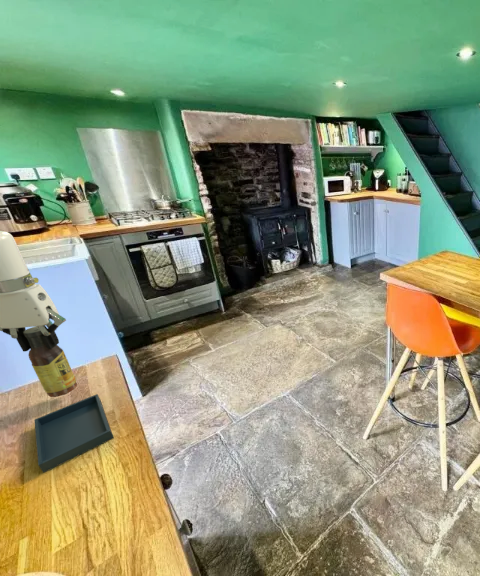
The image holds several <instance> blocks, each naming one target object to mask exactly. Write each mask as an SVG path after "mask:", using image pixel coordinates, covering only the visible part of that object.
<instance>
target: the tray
mask: <svg viewBox="0 0 480 576" xmlns="http://www.w3.org/2000/svg"><path fill="white" fill-rule="evenodd" d="M34 431H35V443H36V454H37V465H38V467H39V469H40V470H41V472H42V473H46V472H47V471H50V470H52V469H54V468H57V467H58V466H60V465H63V464H64V463H66V462H68V461H70V460H72V459H74V458H76V457H78V456H81V455H82V454H84V453H87V452H88V451H90V450H92V449H95V448H96V447H98V446H101V445H102V444H104V443H107V442H108V441H110V440H112V439H114V438H115V437H114V434H113V431H112V428H111V426H110V423H109V420H108V417H107V415H106V412H105V409H104V406H103V404H102V400H101V398H100V395H99V394H98V393H97V394H94V395H91V396H89V397H86V398H84V399H82V400H79V401H77V402H74V403H71V404H69V405H67V406H64V407H62V408H59V409H57V410H54V411H52V412H50V413H46V414H45V415H43V416H39V417H37V418H35V419H34Z"/></svg>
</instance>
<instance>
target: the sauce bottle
mask: <svg viewBox="0 0 480 576" xmlns="http://www.w3.org/2000/svg"><path fill="white" fill-rule="evenodd" d="M23 333H24V335H25V337H26V338H27V339H28V341H29V343H30V346H31V349H29V350H28V359H29V360H30V362H31V366H32V369H33V371H34V373H35V375H36V377H37V379H38V380H39V381H38V382H39V383H40V385H41V386H42V388H43V391H44V392H45V394H46V395H47V396H48V397H49V398H57V397H62V396H65V395H67V394H69V393H70V392H71V393H72V391H74V390H75V389H76V388H77V386H78V384H77V383H78V382H77V379H76V376H75V374H74V373H73V370H72V368H71V365H70V363H69V360H68V358H67V356H66V353H65V351H64V349H63V348H62V347H60V345H58V344H57V345H56V346H55V347H53V348H52V349H48V348H47V346H46V344H45V342H44V340H43V338H42V336H44V334H43V333H42V332H41V331H40V330H39V328H38V327H37V326H34V327H28V328H27V329H26V330H25V331H24V332H23Z"/></svg>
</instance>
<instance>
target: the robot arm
mask: <svg viewBox="0 0 480 576" xmlns="http://www.w3.org/2000/svg"><path fill="white" fill-rule="evenodd" d="M39 281H40V280H39V278H38V277H33V276H32V274H31V272H30V270H29V268H28V266H27V262H26V261H25V259H24V257H23V255H22V252H21V250H20V248H19V246H18V244H17V242H16V240H15V238H14V236H13V235H12V234H11V233H10V232H7V231H4V230H0V332H3V333H4V334H6V335H9V336H10V337H11V338H12V339H15V340H16V341H17V343H18V345H19V347H20V348H21V350H22V352H23V353H24V352H29V351H30V350H31V346H30V343H29V341H28V339H27V338H26V337H25V335H24V333H23V332H24V331H25V330H27V329H26V328H32V327H36V326H37V327H38V328H39V330H40V331H41V332H42V333H43V334H44V336H42V338H43V340H44V342H45V344H46V346H47V348H48V349H52V348H53V347H55V346H56V345H58V344H60V340H59V338H58V336H57V333H56V332H55V331H57V329H58V328H59V327H60V326H61V325H62V324H64V323H65V322H66V321H67V319H66V318H65V317H64V316H62V315H60V313H59V311H58V309H57V306H56V304H55V303H54V302H53V301H54V300H52V298H51V297H50V294H48V292H47V291H46V290H45V288H44V287H43V286H42V285H41V284H40V283H39ZM38 283H39V284H38ZM51 320H52V321H54V322H52V321H51Z"/></svg>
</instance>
